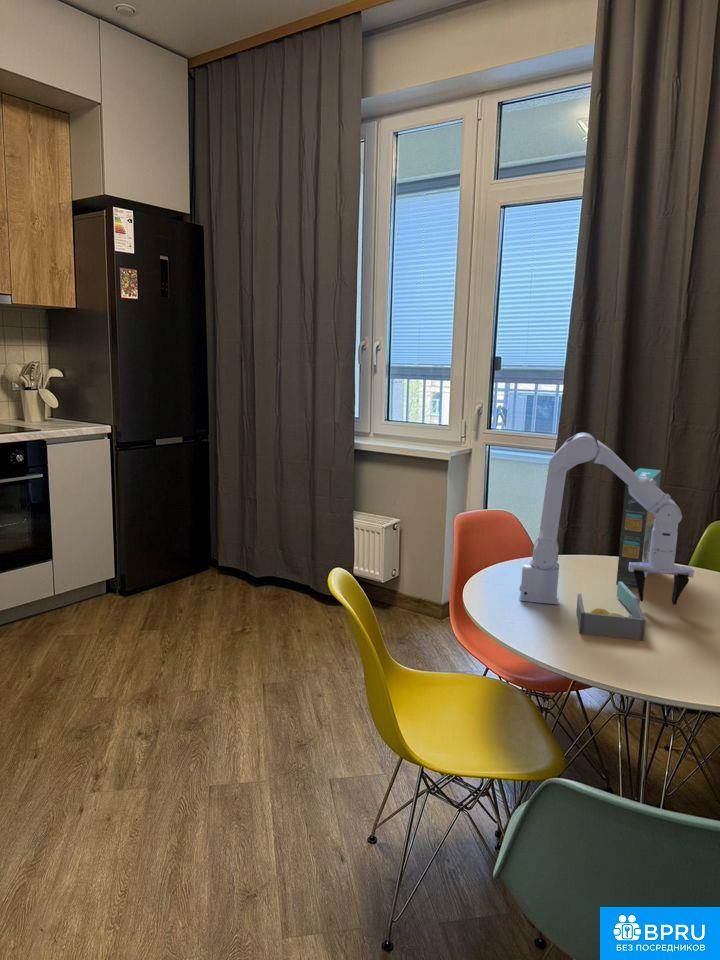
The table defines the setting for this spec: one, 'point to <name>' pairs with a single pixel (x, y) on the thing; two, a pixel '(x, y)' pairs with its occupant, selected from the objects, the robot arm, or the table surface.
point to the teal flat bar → (626, 596)
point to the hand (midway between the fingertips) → (657, 601)
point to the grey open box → (611, 623)
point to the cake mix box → (635, 532)
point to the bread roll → (604, 612)
